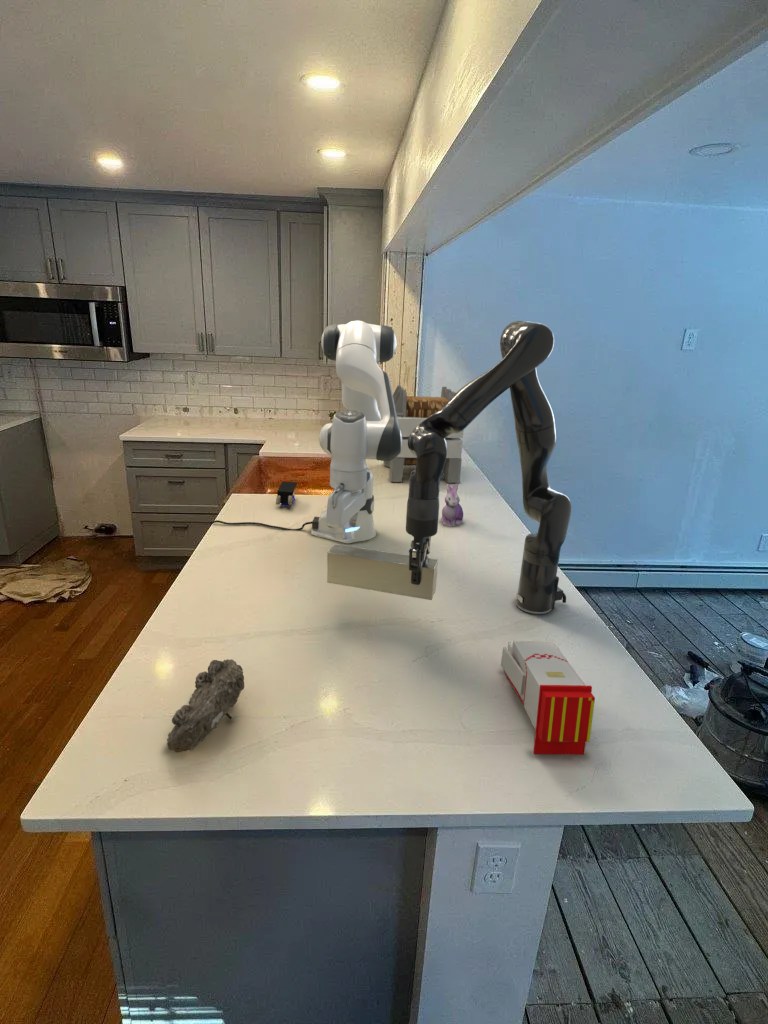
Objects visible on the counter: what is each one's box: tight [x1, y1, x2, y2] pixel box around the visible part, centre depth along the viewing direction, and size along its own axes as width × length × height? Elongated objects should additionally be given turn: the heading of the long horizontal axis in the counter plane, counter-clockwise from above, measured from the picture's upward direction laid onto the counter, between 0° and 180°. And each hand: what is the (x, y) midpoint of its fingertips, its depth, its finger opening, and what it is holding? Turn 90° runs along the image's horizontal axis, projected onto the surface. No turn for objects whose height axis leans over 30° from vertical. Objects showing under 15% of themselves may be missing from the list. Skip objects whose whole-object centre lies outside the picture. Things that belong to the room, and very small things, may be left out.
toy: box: [500, 640, 596, 756], centre depth 114 cm, size 12×13×30 cm
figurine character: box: [275, 480, 298, 509], centre depth 223 cm, size 7×8×15 cm
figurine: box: [440, 483, 464, 527], centre depth 210 cm, size 9×10×15 cm
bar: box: [326, 543, 439, 601], centre depth 140 cm, size 27×5×8 cm, turn 74°
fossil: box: [166, 658, 245, 754], centre depth 106 cm, size 22×10×15 cm
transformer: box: [383, 384, 465, 484], centre depth 268 cm, size 34×33×41 cm
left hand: (346, 532), depth 142 cm, fingers open, 8 cm apart
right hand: (418, 578), depth 138 cm, fingers closed on bar, 5 cm apart
